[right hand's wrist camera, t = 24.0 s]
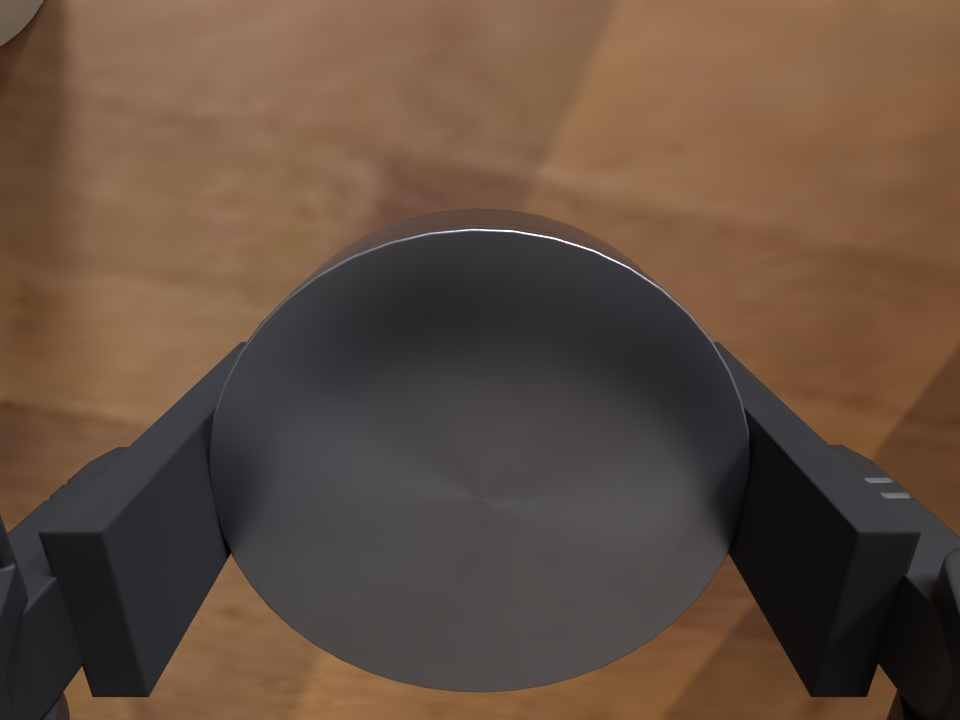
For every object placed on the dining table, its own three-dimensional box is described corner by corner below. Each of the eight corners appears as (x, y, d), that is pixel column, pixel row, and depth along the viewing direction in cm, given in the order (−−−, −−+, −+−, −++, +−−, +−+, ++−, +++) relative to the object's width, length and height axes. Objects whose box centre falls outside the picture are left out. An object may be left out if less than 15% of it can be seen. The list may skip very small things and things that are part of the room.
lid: (164, 444, 12) (102, 508, 10) (469, 89, 10) (466, 82, 8) (486, 670, 14) (488, 758, 12) (797, 428, 12) (861, 490, 10)
